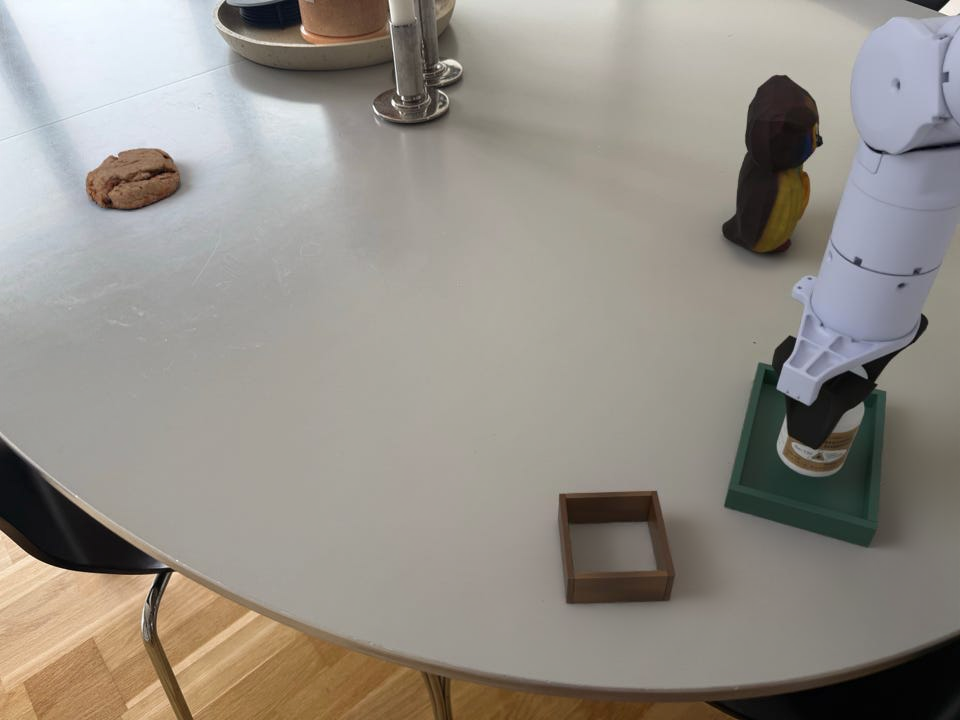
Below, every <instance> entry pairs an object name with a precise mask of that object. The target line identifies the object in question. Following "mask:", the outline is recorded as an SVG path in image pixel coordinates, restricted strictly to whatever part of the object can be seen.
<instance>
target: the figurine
mask: <svg viewBox="0 0 960 720" xmlns="http://www.w3.org/2000/svg"><path fill="white" fill-rule="evenodd" d="M747 109H748V110H747V113H746V128H745V134H744V144H745V148H746V153H745V154H744V157H743V159H742V163H741V166H740V169H739V171H738V178H737V187H736V197H735V198H736V199H735V205H736V206H735V214H733V215H732V216H731V218H729V219H728V220H727V221H725V222H724V223H722V226H721V232H722V234H723V238H725V239H726V240H727V241H730V242H731V243H733V244H736V245H738V246H740V247H742V248H744V249H746V250H749V251H752V252H756V253H782V252H786V251H787V250H789V248H791V246H792V241H791V239H790V238H791V236H792V235H793V234H794V232H795V229H796V227H797V225H798V222H799V221H800V220H801V219H802V218H803V216H804V213H805V211H806V209H807V207H808V205H809V202H810V198H811V197H810V196H811V180H810V179H811V178H810V176H809V174H808V172H807V171H804V163H805V162H807V160H808V159H810V158H811V157H812V155H814V153H815V151H816V149H817V148H820V147H822V146H823V144H824V141H823V136H821V135H820V114H819V110H818V106H817V102H816V100H815V99H814V98H813V96H812V95H811V94H810V93H809V91H808V90H806V89H805V88H804V87H802V86H801V85H799V84H798V83H796V82H795V80H793V79H792V78H791V77H789V76H788V75H787V74H774V75H772V76H771V77H769V78H768V79H767V80H766V81H764V82H763V83H762V84H761V85H759V86H758V88H757V89H756V92H755V95H754V97H753V98H752V99H751V102H750V103H749V104H748V108H747Z"/></svg>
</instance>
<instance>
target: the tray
mask: <svg viewBox="0 0 960 720" xmlns="http://www.w3.org/2000/svg"><path fill="white" fill-rule="evenodd" d="M778 381H779V378H778V376H777V374H776V372H775V371H774V369H773V367H772V364H770V363H769V364H768V363H765V362H761V361H759V362H758V363H757V367H756V371H755V374H754V379H753V382H752V387H751V390H750V394H749V399H748V404H747V407H746V412H745V416H744V420H743V424H742V428H741V433H740V437H739V440H738V445H737V449H736V453H735V457H734V462H733V466H732V470H731V475H730V478H729V483H728V487H727V492H726V496H725V499H724V504H723V507H724V508H727V509H730V510H734V511H738V512H742V513H745V514H748V515H752V516H756V517H759V518H763V519H765V520H769V521H773V522H776V523H780V524H783V525H787V526H791V527H794V528H798V529H801V530H805V531H808V532H812V533H815V534H819V535H822V536H826V537H829V538H833V539H837V540H839V541H843V542H846V543H851V544H854V545H858V546H861V547H864V548H869V546H870V544H871V542H872V540H873V539H874V537H875V534H876V532H877V531H878V521H879V508H880V507H879V505H880V492H881V480H882V479H881V478H882V465H883V464H882V463H883V447H884V435H885V433H884V432H885V421H886V420H885V419H886V408H887V407H886V405H887V390H884V389H883V390H882V389H878V388H875V389H874V390H873V391H872V392H871V393H870V395H869V396H868V397H867V398H866V399H865V400H864V401H863V403H864V415H863V418H862V421H861V423H860V425H859V428H858V430H857V433H856V435H855V437H854V440H853V442H852V444H851V447H850V449H849V452H848V454H847V456H846V459H845V461H844V463H843V465H842V467H841V468H840V469H839V470H838V471H837V472H836V473H834V474H832V475H829V476H824V477H811V476H807V475H803V474H800V473H798V472H796V471H794V470H792V469H791V468H790V467H788V466H787V465H786V464H785V463H784V462H783V461H782V459H781V458H780V456H779V454H778V451H777V441H778V438H779V434H780V431H781V428H782V425H783V422H784V419H785V416H786V403H785V395H784V393H783V392H781V391H779V390H777V385H778Z"/></svg>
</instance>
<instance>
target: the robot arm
mask: <svg viewBox="0 0 960 720" xmlns="http://www.w3.org/2000/svg"><path fill="white" fill-rule="evenodd" d="M853 63H854V64H853V67H852V71H851V76H850V84H849V85H850V87H849V102H850V110H851V115H852V119H853V123H854V125H855V128H856V130H857V133H858V134H859V135H860V136H859V139H858V142H857V144H856V145H857V146H856V149H855V152H854V155H853V159H852V161H851V165H850V169H849V172H848V175H847V179H846V182H845V185H844V189H843V192H842V195H841V197H840V198H841V199H840V201H839V205H838V208H837V211H836V215H835V218H834V221H833V225H832V227H831V231H830V235H829V238H828V241H827V245H826V248H825V252H824V255H823V258H822V261H821V265H820V268H819V271H818V274H817V276H815V275H811V274H810V275H804V276H802V278H800V279H799V280H798V281H797V282H796V283H794V285H793V287H792V289H791V294H790V296H791V298H792V299H794V300H795V301H796V302H799V303H801V304H802V305H803V307H804V308H803V312H802V317H801V320H800V325H799V328H798V333H797V336H793V335H788V336H787V337H786V338H785V339H784V340H782V341H781V342H780V343H779V345H777V347H776V348H775V349H774V352H773V356H772V359H771V365H772V367H773V369H774V371H775V372H776V374H777V376H778V378H779V381H778V385H777V390H779V391H781V392H783V393H784V395H785V403H786V422H787V434H788V436H790V437H792V438H793V439H795V440H797V441H799V442H801V443H802V444H804V445H806V446H808V447H810V448H812V449H813V450H817V449H818V448H819V447H820V446H821V445H822V444H823V443H824V442H825V441H826V439H827V438H828V437H829V436H830V435H831V433H832V432H833V430H834V429H835V427H836V425H837V424H838V422H839V421H840V419H841V417H842V416H843V415H844V413H846V412H847V411H849V410H851V409H853V408H855V407H856V406H857V405H859V404H860V403H861V402H863V401H864V400H865V399H866V398H867V397H868V396H869V395H870V393H871V392H872V391H873V390H874V389H877V387H878V385H879V384H878V383H877V382H876V381H877V380H878V379H879V378H880V376H881V374H882V373H883V371H884V370H885V368H886V367H887V366H888V364H890V362H891V361H892V360H893V359H894V358H895V357H897V355H899V354H900V353H901V352H902V351H904V350H905V349H907V348H908V347H910V346H912V345H913V344H915V343H916V342H917V341H918V340H919V338H920V337H921V336H922V335H923V334H924V333H925V332H926V331H927V328H928V326H929V320H928V317H927V316H926V315H925V314H923V313H922V312H923V308H924V307H925V304H926V302H927V299H928V298H929V295H930V293H931V290H932V288H933V285H934V283H935V280H936V278H937V276H938V273H939V271H940V269H941V266H942V264H943V262H944V258H945V257H946V255H947V252H948V250H949V248H950V245H951V242H952V240H953V238H954V236H955V233H956V231H957V229H958V226H959V223H960V12H959V13H957V14H956V15H955V14H954V15H947V16H946V15H944V16H936V17H935V16H934V17H927V18H914V17H910V16H893V17H891V18H890V19H889V20H888V21H887V22H885V23H884V24H883V25H881V26H879V27H877V28H876V29H874V30H873V31H872V32H871V33H870V34H869V35H868V36H867V37H866V39H865V40H864V41H863V43H862V45H861V47H860V48H859V50H858V52H857V55H856V57H855V60H854V62H853ZM860 365H861V366H862V367H863V368H864V369H865V371H866V373H867V376H868V379H866V378H864V377H862V376H860V375H858V374H856V373H853V372H851V371H849V370H851V369H853V368H855V367H858V366H860Z"/></svg>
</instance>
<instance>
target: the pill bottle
mask: <svg viewBox="0 0 960 720" xmlns="http://www.w3.org/2000/svg"><path fill="white" fill-rule="evenodd" d="M849 371H851V372H853V373H856V374H858V375H860V376H862V377H864V378H866V379H868V376H867V373H866V371H865V369H864V368H863V367H862V366H861V365H860V366H858V367H855V368H853V369H851V370H849ZM863 415H864V403H863V402H861V403H860V404H859V405H857V406H856V407H855V408H853V409H851V410H849V411H847V412H846V413H844V415H843V416H842V417H841V419H840V421H839V422H838V424H837V425H836V427H835V429H834V430H833V432H832V433H831V435H830V436H829V437H828V438H827V439H826V441H825V442H824V443H823V444H822V445H821V446H820V447H819V448H818V449H817V450H813V449H812V448H810V447H808V446H806V445H804V444H802V443H801V442H799V441H797V440H795V439H793V438H792V437H790V436H788V434H787V422H786V416H785V419H784V422H783V425H782V428H781V431H780V434H779V438H778V441H777V451H778V454H779V456H780V458H781V459H782V461H783V462H784V463H785V464H786V465H787V466H788V467H790V468H791V469H792V470H794V471H796V472H798V473H800V474H803V475H807V476H811V477H824V476H829V475H832V474H834V473H836V472H837V471H838V470H839V469H840V468H841V467H842V465H843V463H844V461H845V459H846V456H847V454H848V452H849V449H850V447H851V444H852V442H853V440H854V437H855V435H856V433H857V430H858V428H859V425H860V423H861V421H862V418H863Z"/></svg>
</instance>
